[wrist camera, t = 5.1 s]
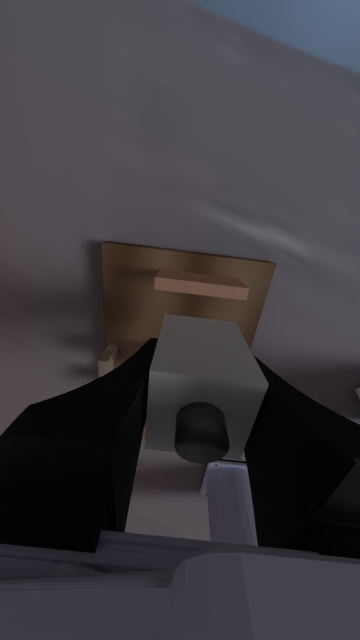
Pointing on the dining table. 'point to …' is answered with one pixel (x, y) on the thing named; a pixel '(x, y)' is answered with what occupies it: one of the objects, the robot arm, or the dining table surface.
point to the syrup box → (358, 391)
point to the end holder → (201, 284)
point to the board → (170, 295)
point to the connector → (202, 390)
